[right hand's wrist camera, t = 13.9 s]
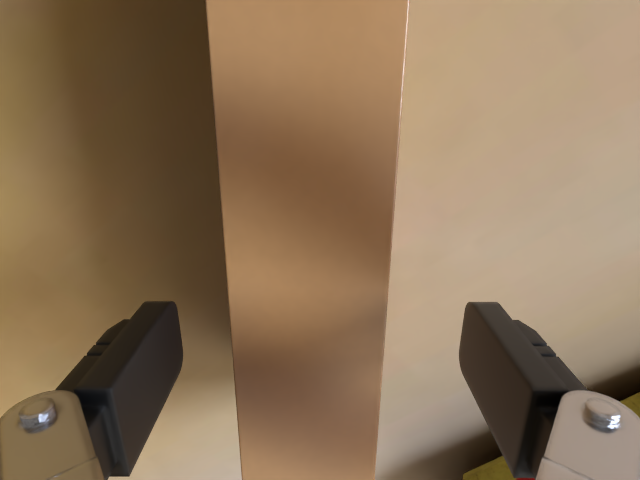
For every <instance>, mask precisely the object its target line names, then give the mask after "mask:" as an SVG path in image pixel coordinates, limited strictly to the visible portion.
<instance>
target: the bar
mask: <svg viewBox="0 0 640 480" xmlns="http://www.w3.org/2000/svg"><path fill="white" fill-rule="evenodd" d="M205 3H206V16H207V29H208V42H209V55H210V68H211V81H212V94H213V107H214V121H215V134H216V147H217V160H218V173H219V186H220V199H221V212H222V225H223V238H224V251H225V264H226V277H227V290H228V303H229V316H230V329H231V342H232V355H233V368H234V381H235V394H236V407H237V420H238V433H239V446H240V459H241V472H242V480H374V478H375V465H376V451H377V437H378V424H379V410H380V397H381V383H382V370H383V356H384V343H385V329H386V316H387V302H388V288H389V275H390V261H391V248H392V234H393V221H394V207H395V194H396V180H397V167H398V153H399V139H400V126H401V112H402V99H403V85H404V72H405V58H406V45H407V31H408V18H409V4H410V0H205Z"/></svg>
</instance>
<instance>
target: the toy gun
mask: <svg viewBox="0 0 640 480" xmlns="http://www.w3.org/2000/svg"><path fill="white" fill-rule="evenodd" d="M620 402H621V403H622V404H624V405H625V406H627V407H628V408H630V409H631V410H632V411H633V412H634V413H635V414H636V415H637V416H638V417H639V418H640V392H639V393H637V394H635V395H633V396H630V397H628V398H626V399H624V400H622V401H620ZM463 480H535V479H534V478H514V477H513V475H512V473H511V471H510V469H509V467H508V465H507V463H506V461H505V459H504V457H503V456H501V457H499V458H497V459H495V460H492V461H490V462H488V463H486V464H484V465H482V466H479V467H477V468H475V469H473V470H471V471H469V472H467V473H464V474H463Z"/></svg>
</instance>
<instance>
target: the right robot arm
mask: <svg viewBox="0 0 640 480" xmlns="http://www.w3.org/2000/svg"><path fill="white" fill-rule="evenodd" d="M182 361H183V347H182V340H181V332H180V325H179V318H178V311H177V306H176V304H175V302H173V301H146V302H144V303H143V304H142V305H141V306H140V308H139V309H138V310H137V311H136V313H135V314H134V315H133V316H132V318H131V319H124V320H122V321H121V322H119V323H117V324H116V325H114V326H113V327H111V328H110V329H108V330H107V331H106V332H105V333H104V334H103V335H102V336H101V338H100V339H99V340H98V341H97V342H96V345H94V346H93V347H92V348H91V349H90V350H89V351H88V353H87V356H84V357H83V358H82V360H81V361H80V362H79V363H78V364H77V365H76V366H75V368H74V369H73V370H72V371H71V372H70V373H69V375H68V376H67V377H66V378H65V379H64V380H63V381H62V383H61V384H60V385H59V386H58V387H57V388H56V390H54V391H48V392H43V393H40V394H37V395H34V396H32V397H29V398H27V399H25V400H23V401H21V402H19V403H18V404H16V405H15V406H13V407H12V408H10V409H9V410H8V411H7V412H6V413H5V414H4V415H3V416H2V417H1V418H0V480H108V478H109V476H130V474H131V472H132V470H133V468H134V466H135V464H136V461H137V459H138V457H139V455H140V453H141V451H142V449H143V447H144V445H145V443H146V441H147V439H148V437H149V435H150V433H151V431H152V429H153V427H154V424H155V422H156V420H157V418H158V416H159V414H160V412H161V410H162V408H163V406H164V404H165V402H166V400H167V398H168V396H169V394H170V392H171V390H172V388H173V385H174V383H175V381H176V379H177V377H178V375H179V373H180V370H181V367H182ZM459 361H460V367H461V371H462V374H463V376H464V378H465V380H466V382H467V384H468V386H469V388H470V390H471V392H472V394H473V396H474V398H475V400H476V402H477V404H478V406H479V408H480V410H481V412H482V414H483V416H484V418H485V420H486V422H487V424H488V426H489V428H490V431H491V433H492V435H493V437H494V439H495V441H496V443H497V445H498V447H499V449H500V451H501V453H502V455H503V457H504V459H505V461H506V463H507V465H508V467H509V469H510V471H511V473H512V475H513V477H514V478H534V479H535V480H640V418H639V417H638V416H637V415H636V414H635V413H634V412H633V411H632V410H631V409H630V408H628V407H627V406H625V405H624V404H622V403H621V402H619V401H617V400H615V399H613V398H611V397H608V396H606V395H603V394H600V393H597V392H592V391H588V390H587V389H586V388H585V387H584V386H583V385H582V383H581V382H580V381H579V380H578V379H577V378H576V377H575V375H574V374H573V373H572V372H571V371H570V370H569V369H568V367H567V366H566V365H565V364H564V363H563V362H562V361H561V359H560V358H559V357H556V354H555V353H554V351H553V350H552V349H551V348H550V347H549V346H547V343H546V342H545V341H544V340H543V339H542V338H541V337H540V335H539V334H538V333H537V332H536V331H535V330H533V329H532V328H530V327H529V326H527V325H525V324H524V323H522V322H521V321H519V320H512V319H511V318H510V316H509V315H508V314H507V313H506V311H505V310H504V309H503V308H502V307H501V305H500V304H499V303H497V302H469V303H467V305H466V308H465V313H464V320H463V327H462V334H461V341H460V348H459Z"/></svg>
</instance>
